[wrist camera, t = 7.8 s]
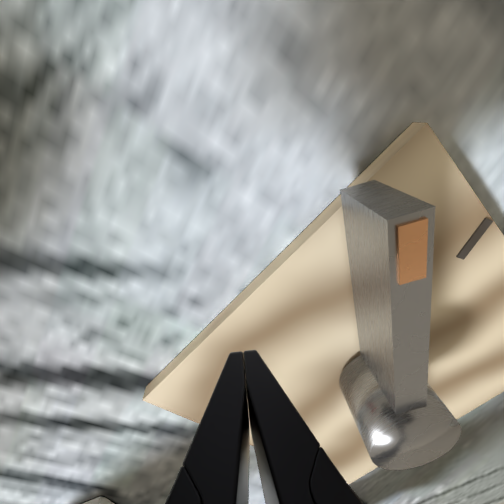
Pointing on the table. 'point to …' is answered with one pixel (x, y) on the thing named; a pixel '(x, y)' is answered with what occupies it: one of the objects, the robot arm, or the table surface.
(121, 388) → the table surface
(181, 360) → the base plate
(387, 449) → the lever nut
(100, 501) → the skincare box
